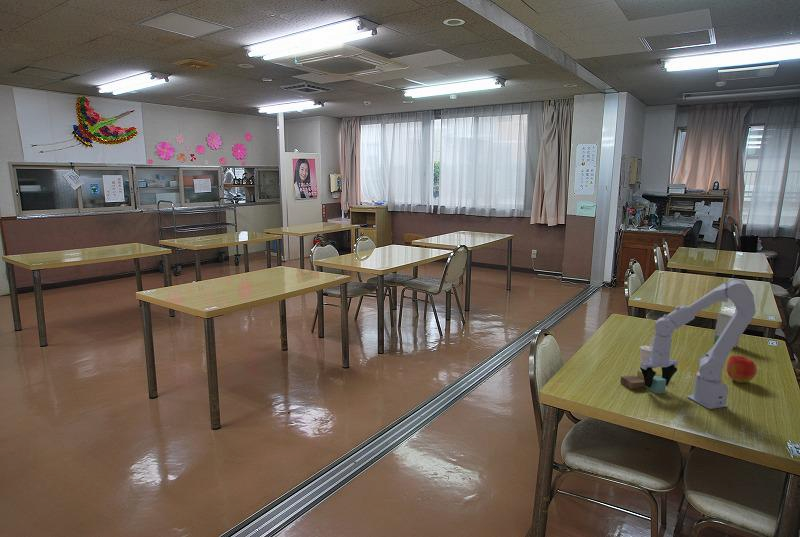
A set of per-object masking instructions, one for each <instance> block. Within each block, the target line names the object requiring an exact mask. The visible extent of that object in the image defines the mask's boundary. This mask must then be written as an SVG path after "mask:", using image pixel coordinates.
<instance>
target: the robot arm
mask: <svg viewBox="0 0 800 537" xmlns="http://www.w3.org/2000/svg"><path fill="white" fill-rule="evenodd" d="M728 299H729V300H730V301H731V302H732V303H733V305H734V306H735V309H736V310H735V312H733V313H734V315H733V317H732V318H731V320H730V321H729V323H728V324H727V326H726V327H725V329H724V331H723V332H722V334H721V335H720V337H719V338H718V340H717V341H716V343H714V344H713V347H711V349H709V350H708V351H707V353H706V354H704V355H703V356H701V357H699V360H698V366H699V369H698V370H699V371H697V372H696V374H695V380H694V388H693V392H692V393H693V394H689V395H686V397H687V399H690V400H692V401H693V402H696V403H697V404H699V405H700V406H701V405H702V406H703V407H705V408H707V409H709V410H711V409H720V408H725V407H728V406H729V405H728V404H727V399H728V396H729V394H728V393H729V388H728V385H727V384H726V383H724V382H723V381H722V377H721V376H722V374H723V373H722V372H723V371H722V369H723V367H724V366H725V363H726V360H727V358H728V356H729V354H730V353H731V351H732V350H733V349H734V348H733V347H734V345H735V344H736V342H737V341H738V339H739V340H740V338H741V337H742V335H743V334H744V332H745V330H746V329H747V327H748V326H749V324H750V323H751V321H752V320H753V319H754V316H755V315H756V312H757V311H756V305H755V304H756V303H755V296H754V294H753V292H752V291H751V289H750V287H749V286H748V284H747V282H746V281H745V280H742V279H740V278H733V279H729V280H728V281H727V282H726V283H722V284H720V285H719V286H717V287H715V288H713V289H712V290H711V291H709V292H708V293H706V294H705V295H703V296H702V297H700V298H699V299H697V300H695V301H694V302H693V303H691V304H689V305H684V304H683V305H681V306H680V305H677V306H675V309H674V310H673V311H671V312H669V313H668V314H666V313H665V314H664V315H663V316H662V317H659V318H657V320H656V321H655V323H654V325H655V326H654V330H655V332H654V336H653V338H652V354H651V358H649V360H648V361H646V362H643V363H641V362H640V367H639V368H640V369H639V370H641V371H642V373H643V377H644V381H645V387H649V388H651V386H652V381H653V378H654V376H656V373H657V371H655V370H654V368H656V369H657V368H661V377H662V378H664V379H666V386H665V387H667V386H669V383H670V381H671V379H672V377H673V376H674V375H675V374H676V372H677V371H678V367H677V366H678V360H675V359H674V358H673V359H670V356H671V350H672V349H671V348H672V341H673V340H672V335H673V334H674V332H675V330H677V329H680V328H682V327H683V326H685V325H686V324H688V323H690V322H691V321H693V320H694V319H695V318H696V317H695V316H696V314H697V313H699V312H701V311H702V310H704V309H706V308H708V307H710V306H712V305H714V304H716V303H717V302H718V303H719V302H720V303H721V302H722V303H728V302H729V300H728Z"/></svg>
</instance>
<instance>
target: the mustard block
mask: <svg viewBox="0 0 800 537" xmlns="http://www.w3.org/2000/svg"><path fill="white" fill-rule="evenodd" d="M636 376H637V377H639V378H640V379H642V380H644V377H643V373H642V371H641V369H637V374H636Z"/></svg>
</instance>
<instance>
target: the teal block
mask: <svg viewBox="0 0 800 537" xmlns="http://www.w3.org/2000/svg"><path fill="white" fill-rule="evenodd" d="M646 387H647V386H646ZM666 387H667V386H666V379H664V378H662V376H660V375H658V374H657V375H656V374H655V375H654V378H653V381H652V386H651V388H649V387H647V388H646V389H647V390H648V389H649V390H648V391H650V392H651V393H654V395H655V394H656V393H657V394H662V393H665V392H666ZM657 394H656V395H657Z"/></svg>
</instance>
